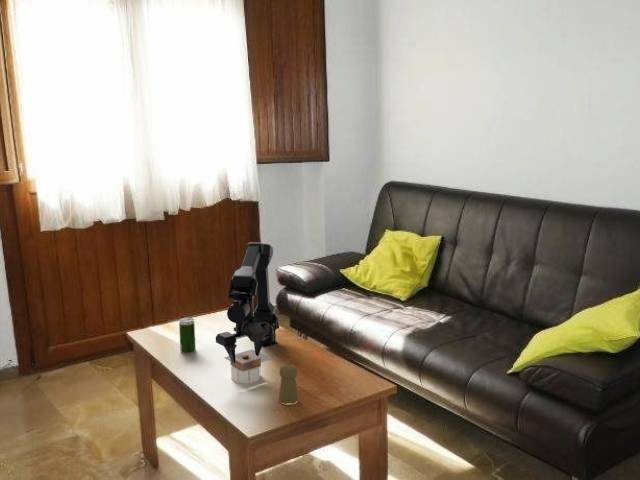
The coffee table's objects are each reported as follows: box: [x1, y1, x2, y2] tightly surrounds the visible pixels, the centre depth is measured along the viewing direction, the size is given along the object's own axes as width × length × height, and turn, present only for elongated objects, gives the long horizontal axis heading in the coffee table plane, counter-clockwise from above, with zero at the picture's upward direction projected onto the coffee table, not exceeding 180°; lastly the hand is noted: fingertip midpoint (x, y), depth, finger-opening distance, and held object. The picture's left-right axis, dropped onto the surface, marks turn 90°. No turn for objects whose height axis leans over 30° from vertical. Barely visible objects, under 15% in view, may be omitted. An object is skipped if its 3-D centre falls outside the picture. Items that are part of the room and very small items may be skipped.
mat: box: [224, 348, 273, 363], centre depth 230 cm, size 12×12×1 cm
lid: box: [229, 352, 262, 371], centre depth 213 cm, size 7×7×3 cm
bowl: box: [230, 365, 261, 384], centre depth 213 cm, size 9×9×4 cm
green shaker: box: [278, 364, 300, 404], centre depth 197 cm, size 6×6×11 cm
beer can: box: [178, 317, 197, 355], centre depth 235 cm, size 5×5×12 cm
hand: (245, 359), depth 212 cm, fingers open, 9 cm apart
